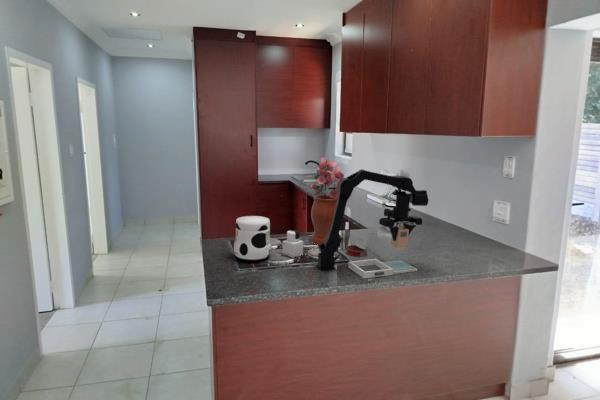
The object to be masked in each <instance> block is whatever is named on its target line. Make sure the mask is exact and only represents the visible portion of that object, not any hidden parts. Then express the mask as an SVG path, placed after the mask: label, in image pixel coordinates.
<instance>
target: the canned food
mask: <svg viewBox="0 0 600 400" xmlns="http://www.w3.org/2000/svg"><path fill="white" fill-rule="evenodd" d="M348 238H349V239H350V241H351V243H353V244H351V245H347V246H346V253H345V254H346V255H347V254H348V255H347V256H349V255H350V256H349V257H354V258H363V257H365V256H367V255H368V254H367V253H368V248H367V247H366V246H365V245H363V244H362V243H360V242H359V241H357V240H356V239H354V238H353V237H352V236H351V235H349V237H348Z"/></svg>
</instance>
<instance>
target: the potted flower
mask: <svg viewBox="0 0 600 400" xmlns="http://www.w3.org/2000/svg"><path fill="white" fill-rule="evenodd" d="M337 165H338V163H337V160H333V161H332V160H331V161H328V160H327V159H326V157H325V156H322V157H321V158H320V162H319V167H318V168H317V169H316V175H314V177H313V179H314V180H316V181H313V184H311V185H310V187H309V189H313V191H314V193H315V195H313V196H312V197H313V200H314V201H313V204H312V207H311V212H310V215H311V217H310V218H311V222H312V225H313V230H314V231H313V233H312V234H311V236H310V242H311V241H312V242H313V243H315V244H318V245H321V244H322V243H323V242H324V239H325V237H326V235H327V233H328V231H329V230H330V227H331V223H332V219H333V215H334V211H335V207H336V203H337V198H338V195H337V189H338V182H339V180H340V179H342V178H345V175H344V173H342V172H341V170H342V167H341V166H337ZM335 166H337V167H336V168H335V169H334V167H335ZM317 184H319V185H320V186H318V185H317ZM332 184H333V187H329V186H332ZM323 185H324V190H326V187H327V189H328V190H330V191H329V194H323V191H322V190H321V189H320V188H321V186H323ZM319 192H321V194H319ZM315 244H314V245H315ZM318 245H317V246H318Z"/></svg>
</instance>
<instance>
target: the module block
mask: <svg viewBox="0 0 600 400" xmlns="http://www.w3.org/2000/svg"><path fill="white" fill-rule="evenodd" d="M397 227H398V232H397V237H396V241H393V237H392V236H391V244H390V245H391V246H392V247H395V248H397V249H401V248H402V249H403V248H408V246H409V244H408V243H409V236H408V234H409V229H407V228H404V226H397ZM409 235H410V234H409Z"/></svg>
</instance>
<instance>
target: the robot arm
mask: <svg viewBox="0 0 600 400" xmlns="http://www.w3.org/2000/svg"><path fill="white" fill-rule="evenodd" d="M338 180H339V179H338ZM363 181H370V182H374V183H380V184H385V185H388V186H392V187H395V188H397V189H395V190H393V191H392V192H391V194H392V196H396V197H395V206H393V209H390V208H384V210H383V216H384V217H381V218H380V219H379V222H378V224H379V225H381V226H383V227H385V228H388V229H389V230H390V233H391V238H392V237H393V241H396V237H397V232H398V227H399V226H397V225H398V224H402V225H403V227H404V228H407V229H409V234H408V237H409V236H410V234H411V232H412V231H413V230H414V229H415V228H417V226H419V225H420V226H422V225H423V219H422V218H421V217H419V216H416V215H411V216H410V215H409V212H411V210H412V209H411V208H410V204H411V205H412V206H415V207H416V206H417V207H426V206H428V204H429V196H428V191H427V190H425V189H422V190H421V189H420V190H419V189H418V190H416V188H415V186H414V185H413V184H414V183H413V180H412V179H411V178H410V177H407V176H405V175H388V174H383V173H378V172H374V171H370V170H366V169H359V170H358V171H356V172H354V173H352V174H350V175H348V176H347V177H343V178H342V179H340V180H339V182H338V189H336V190H337V195H338V198H337V203H336V207H335V211H334V215H333V219H332V223H331V227H330V230H329V231H328V233H327V235H326V237H325V239H324V242H323V243H322V244H321V245H320V246H318V250H319V253H317V264H315V266H316V267H317V268H318V269H319V270H320V271H331V270H336V267H335V262H336V258H335V253H336V252H338V250H339V248H341V244H342V240H343V237H342V236H341V235H340V230H341V227H342V223H343V218H344V214H345V211H346V207H347V202H348V200H349V199H350V197H351V196H352V194H353V191H354V189H355V188H356V187H357V186H359V185H360V184H361V183H362V182H363ZM407 192H408V193H407Z"/></svg>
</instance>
